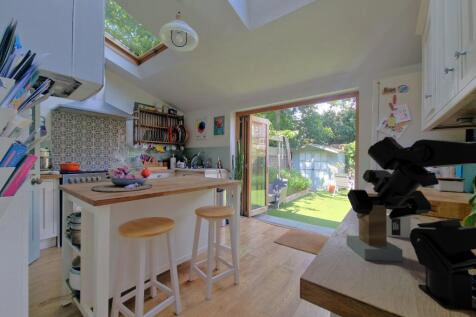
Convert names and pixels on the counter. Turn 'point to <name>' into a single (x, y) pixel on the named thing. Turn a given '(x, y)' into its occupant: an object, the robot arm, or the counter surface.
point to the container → (398, 226)
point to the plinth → (374, 250)
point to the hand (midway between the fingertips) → (373, 217)
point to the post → (374, 226)
